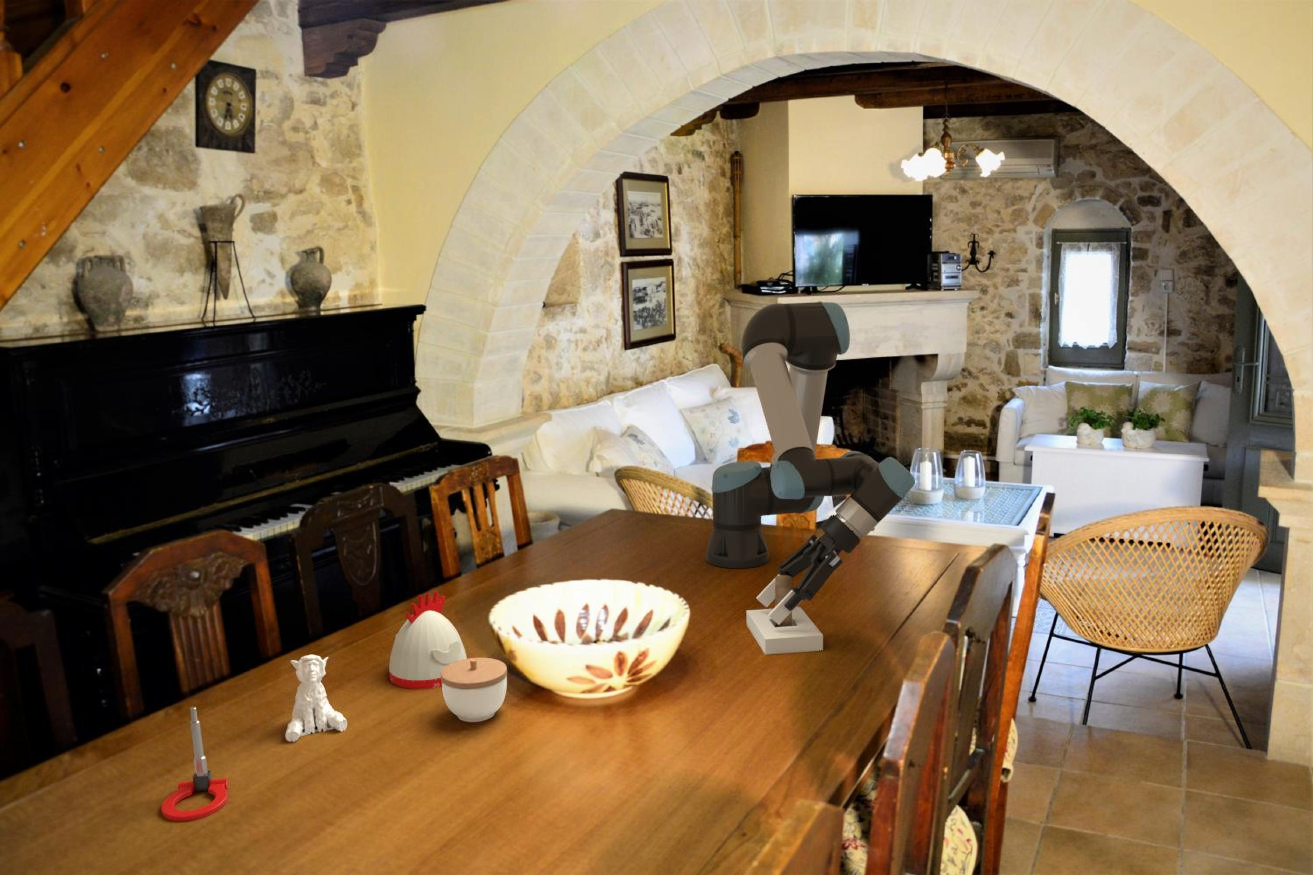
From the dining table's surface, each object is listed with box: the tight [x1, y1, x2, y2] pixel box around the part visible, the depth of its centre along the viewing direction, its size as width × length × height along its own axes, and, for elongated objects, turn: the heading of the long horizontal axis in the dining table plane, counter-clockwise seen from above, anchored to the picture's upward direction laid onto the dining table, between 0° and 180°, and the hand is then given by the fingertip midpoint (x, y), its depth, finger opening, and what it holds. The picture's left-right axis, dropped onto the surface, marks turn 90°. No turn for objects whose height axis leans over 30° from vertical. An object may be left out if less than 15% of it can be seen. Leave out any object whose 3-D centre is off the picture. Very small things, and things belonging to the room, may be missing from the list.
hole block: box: [745, 606, 824, 655], centre depth 205 cm, size 16×11×3 cm
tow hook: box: [161, 706, 229, 822], centre depth 147 cm, size 8×13×9 cm
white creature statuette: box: [284, 654, 348, 743], centre depth 170 cm, size 10×9×12 cm
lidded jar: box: [441, 657, 508, 723], centre depth 174 cm, size 11×11×9 cm
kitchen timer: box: [388, 590, 468, 690], centre depth 191 cm, size 14×14×15 cm
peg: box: [774, 575, 793, 627], centre depth 205 cm, size 3×3×12 cm
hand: (767, 610), depth 204 cm, fingers open, 9 cm apart
